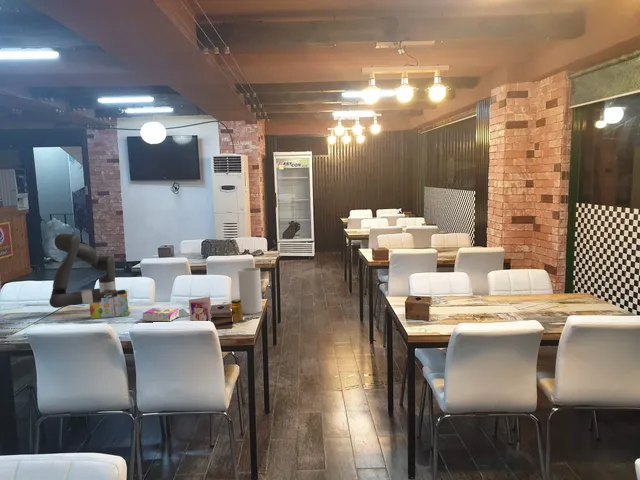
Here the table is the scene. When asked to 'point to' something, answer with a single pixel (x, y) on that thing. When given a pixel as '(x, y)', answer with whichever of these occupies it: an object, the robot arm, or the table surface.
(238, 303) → the condiment
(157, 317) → the candy bar box
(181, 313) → the mat
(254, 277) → the cylinder vase
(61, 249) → the robot arm
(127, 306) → the snack box
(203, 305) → the greeting card
